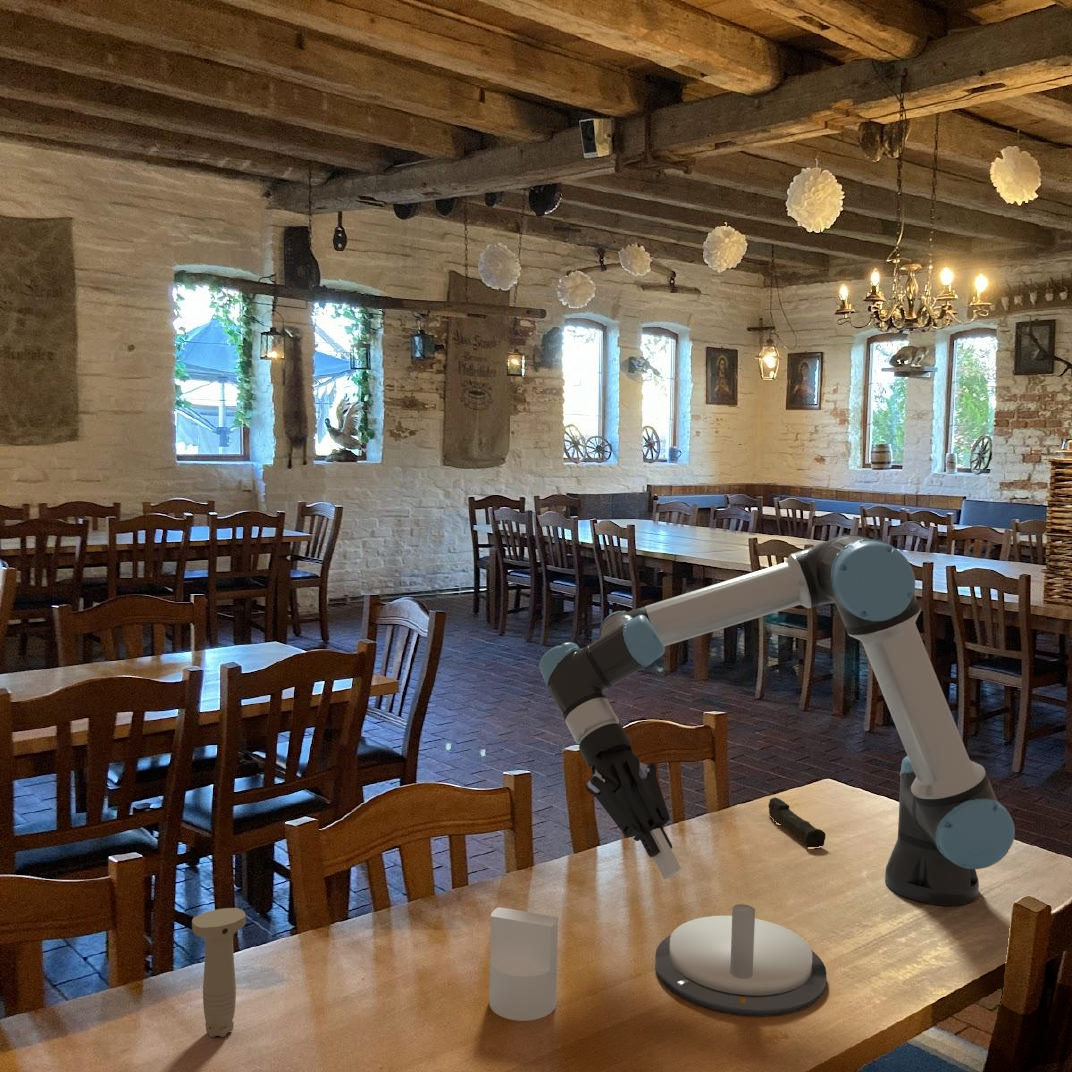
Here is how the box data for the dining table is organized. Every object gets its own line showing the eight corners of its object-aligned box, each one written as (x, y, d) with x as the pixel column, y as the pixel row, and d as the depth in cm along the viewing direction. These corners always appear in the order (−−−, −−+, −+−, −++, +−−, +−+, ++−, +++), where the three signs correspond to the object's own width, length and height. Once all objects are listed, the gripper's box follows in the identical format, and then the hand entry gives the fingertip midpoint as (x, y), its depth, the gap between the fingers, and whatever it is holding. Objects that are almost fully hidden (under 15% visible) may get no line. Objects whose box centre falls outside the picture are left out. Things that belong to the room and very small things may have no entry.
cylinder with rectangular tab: (564, 993, 146) (566, 908, 145) (543, 1026, 137) (545, 936, 136) (503, 981, 148) (504, 898, 147) (479, 1013, 140) (480, 925, 139)
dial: (672, 922, 164) (674, 853, 163) (805, 935, 160) (808, 864, 159) (666, 987, 144) (668, 908, 143) (818, 1002, 141) (821, 922, 140)
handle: (188, 1030, 134) (187, 916, 133) (238, 1016, 138) (237, 904, 137) (199, 1049, 130) (199, 931, 129) (251, 1033, 134) (250, 918, 133)
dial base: (787, 930, 166) (788, 918, 166) (855, 1010, 142) (855, 998, 142) (637, 937, 162) (638, 926, 162) (681, 1021, 139) (681, 1008, 139)
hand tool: (826, 850, 200) (827, 826, 200) (806, 851, 199) (807, 827, 199) (782, 816, 219) (783, 794, 218) (764, 817, 218) (765, 795, 217)
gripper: (619, 740, 171) (691, 875, 159) (555, 754, 163) (626, 896, 151) (642, 715, 166) (718, 851, 154) (577, 727, 158) (652, 872, 146)
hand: (672, 873), depth 153 cm, fingers closed
